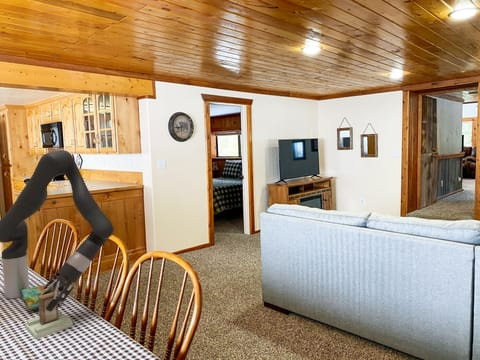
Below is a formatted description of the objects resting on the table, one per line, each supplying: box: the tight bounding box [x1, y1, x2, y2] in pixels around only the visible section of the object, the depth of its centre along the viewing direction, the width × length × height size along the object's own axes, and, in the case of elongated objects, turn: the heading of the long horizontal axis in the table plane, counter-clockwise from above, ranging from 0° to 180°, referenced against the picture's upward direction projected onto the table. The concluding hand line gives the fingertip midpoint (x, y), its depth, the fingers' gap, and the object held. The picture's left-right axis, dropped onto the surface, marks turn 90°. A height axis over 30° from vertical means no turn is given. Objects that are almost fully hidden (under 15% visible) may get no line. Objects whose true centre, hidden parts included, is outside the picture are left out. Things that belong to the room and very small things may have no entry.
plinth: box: [24, 309, 74, 340], centre depth 128 cm, size 11×12×3 cm
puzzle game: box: [22, 284, 58, 311], centre depth 149 cm, size 12×5×20 cm
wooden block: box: [38, 292, 59, 325], centre depth 128 cm, size 4×5×10 cm
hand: (43, 306), depth 127 cm, fingers open, 8 cm apart
